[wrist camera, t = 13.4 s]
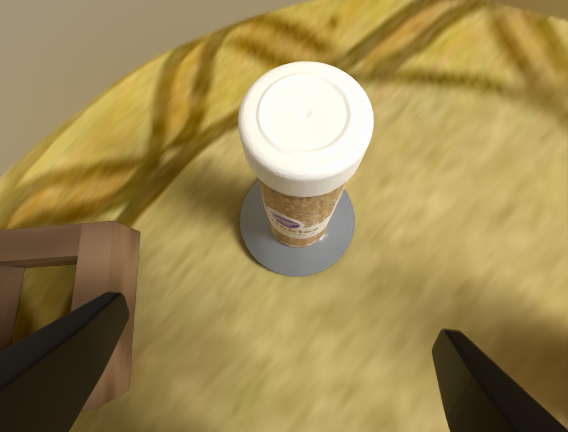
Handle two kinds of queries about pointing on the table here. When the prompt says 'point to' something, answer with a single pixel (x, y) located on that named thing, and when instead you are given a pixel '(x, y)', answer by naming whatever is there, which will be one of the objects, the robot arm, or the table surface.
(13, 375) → the robot arm
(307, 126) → the sprinkles bottle
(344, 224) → the slate coaster
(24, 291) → the table surface
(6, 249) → the walnut caddy
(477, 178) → the table surface
